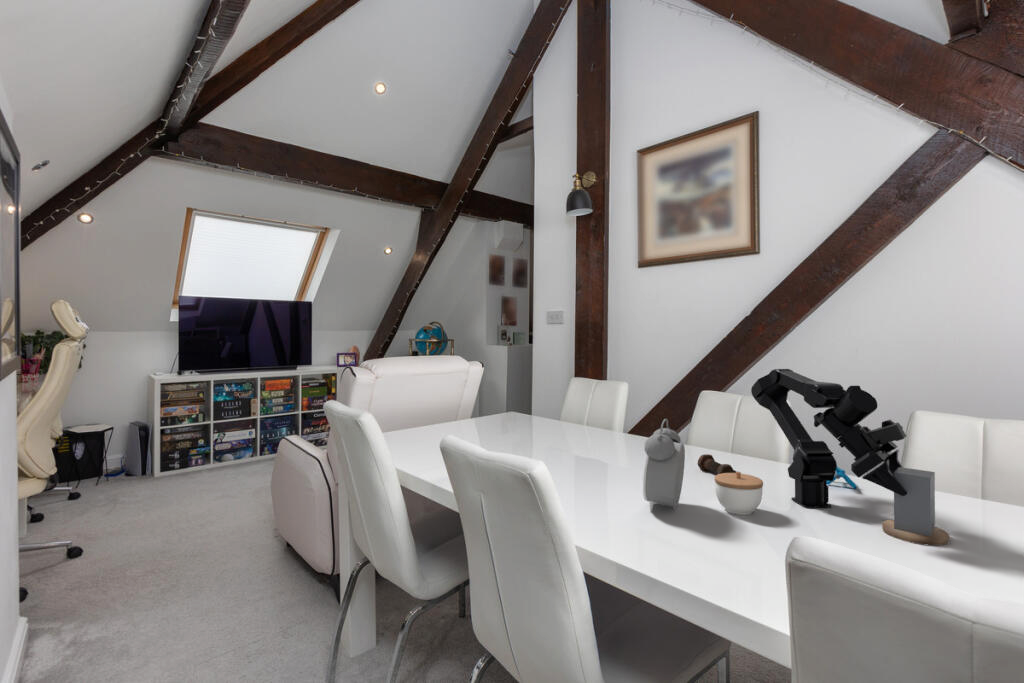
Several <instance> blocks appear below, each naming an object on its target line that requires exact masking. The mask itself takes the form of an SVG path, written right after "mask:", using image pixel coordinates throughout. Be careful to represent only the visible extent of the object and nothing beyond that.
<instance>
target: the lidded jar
mask: <svg viewBox="0 0 1024 683" xmlns="http://www.w3.org/2000/svg"><path fill="white" fill-rule="evenodd" d="M714 487H715V489H714V490H715V495H716V498H717V500H718V502H719V504H720V505H721V506H722V507H723V508H724V510H725V511H726V512H728V513H729V514H734V515H739V516H746V515H751V514H753V513H754V511H755V510H757V508H758V507H759V506H760V504H761V502H762V499H763V491H764V490H763V489H764V488H763V487H764V481H763V479H761V478H759V477H757V476H754V475H751V474H746V473H742V472H741V471H737V472H736V473H722V474H716V475H714Z"/></svg>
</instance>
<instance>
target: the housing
mask: <svg viewBox="0 0 1024 683" xmlns="http://www.w3.org/2000/svg"><path fill="white" fill-rule="evenodd" d="M935 474H936V472H935V471H930V470H929V471H928V470H924V469H923V470H922V469H916V468H915V469H914V468H910V467H904V466H902V467H899V468H898V469H897V470H896V471H895V472H894V476H895V478H896V479H897V480H898V481H899V483H900V484H901V485H902V486H903V488H904V489H905V490H906V491H907V495H905V496H901V495H899V494H897V493H895V492H893V519H894V529H897V530H902V531H906V532H911V533H916V534H920V535H925V536H929V537H931V535H932V533H933V531H934V530H935V527H936V500H935V499H936V496H935V495H936V491H935V490H936V488H935V487H936V482H935V480H936V476H935Z"/></svg>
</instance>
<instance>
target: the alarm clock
mask: <svg viewBox="0 0 1024 683" xmlns="http://www.w3.org/2000/svg"><path fill="white" fill-rule="evenodd" d="M665 422H666V428H665V427H664V426H665V425H664V424H665ZM644 452H645V454H646V457H645V463H644V466H643V467H644V469H643V477H642V479H643V480H642V495H643V499H644V501H646V502H649V512H652V511H653V507H654V505H655V504H660V505H664V506H668V507H669V506H670V507H673V509H676V508H677V506H678V505H679V502H680V497H681V494H682V487H683V480H684V475H685V474H684V473H685V460H686V459H685V458H686V454H685V453H686V451H685V444H684V443H682V440H681V437H680V435H679V434H678V432H676V431H675V430H673V429H671V428H670V427H669V419H668V418H664V419H663V420H662V423H661V425H660V428H658V429H656V430H655V431H654V432H653V433H652V435H651V436H649V437H647V438H646V440H645V442H644Z"/></svg>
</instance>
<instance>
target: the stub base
mask: <svg viewBox="0 0 1024 683" xmlns="http://www.w3.org/2000/svg"><path fill="white" fill-rule="evenodd" d="M881 525H882V529H883V530H882V529H881V530H882V531H883V532H884V534H886V535H888V536H890V537H892V536H893V538H895V539H897V538H898V540H900V539H901V541H905V542H908V541H909V542H908V543H912V542H914V543H913V544H917V543H919V545H924V544H928V545H927V546H944V545H947V544H949V543H948V542H950V534H949V533H948V532H947V531H946V530H944V529H942V528H940V527H938V526H935V530H934V531H933V533H932V535H931V537H929V536H925V535H920V534H916V533H911V532H906V531H902V530H897V529H894V518H893V519H887V520H884V521H882V522H881Z"/></svg>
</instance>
